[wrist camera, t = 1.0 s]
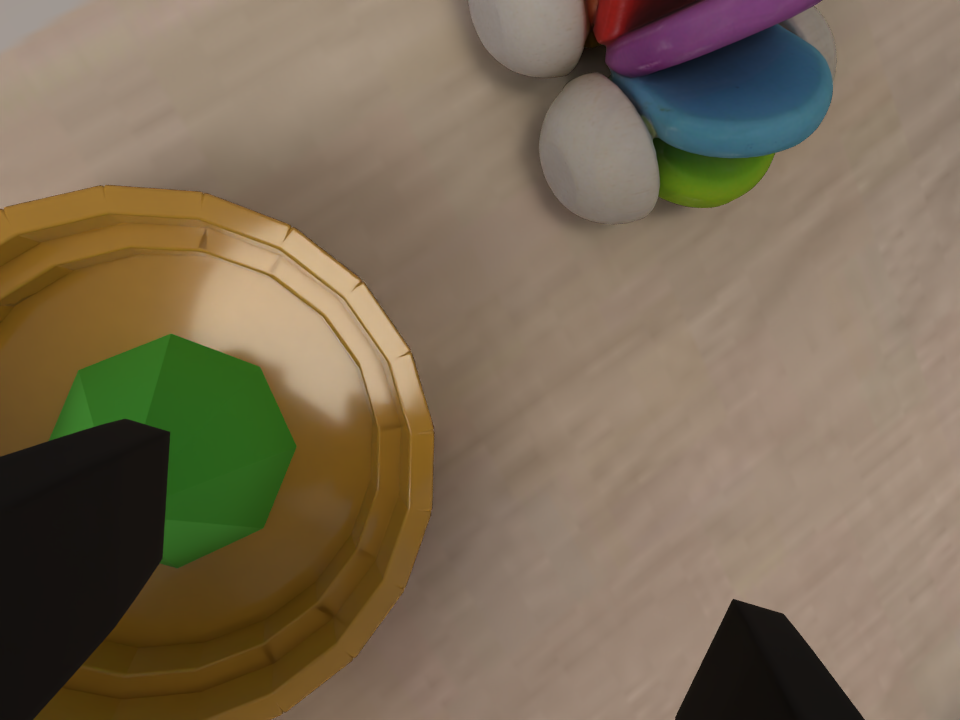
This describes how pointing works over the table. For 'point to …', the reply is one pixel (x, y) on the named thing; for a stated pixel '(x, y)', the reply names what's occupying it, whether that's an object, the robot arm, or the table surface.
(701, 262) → the table surface
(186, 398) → the gemstone
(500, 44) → the multicoloured rounded arched piece
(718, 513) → the table surface
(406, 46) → the table surface
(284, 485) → the bowl
